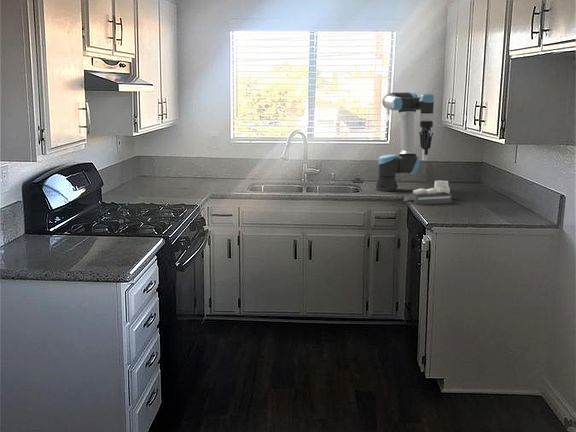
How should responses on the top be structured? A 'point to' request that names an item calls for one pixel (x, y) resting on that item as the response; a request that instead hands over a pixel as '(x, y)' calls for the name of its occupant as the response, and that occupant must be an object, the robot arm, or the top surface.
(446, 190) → the rocker
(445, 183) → the mug
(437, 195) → the power strip
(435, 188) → the rocker
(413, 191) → the rocker
